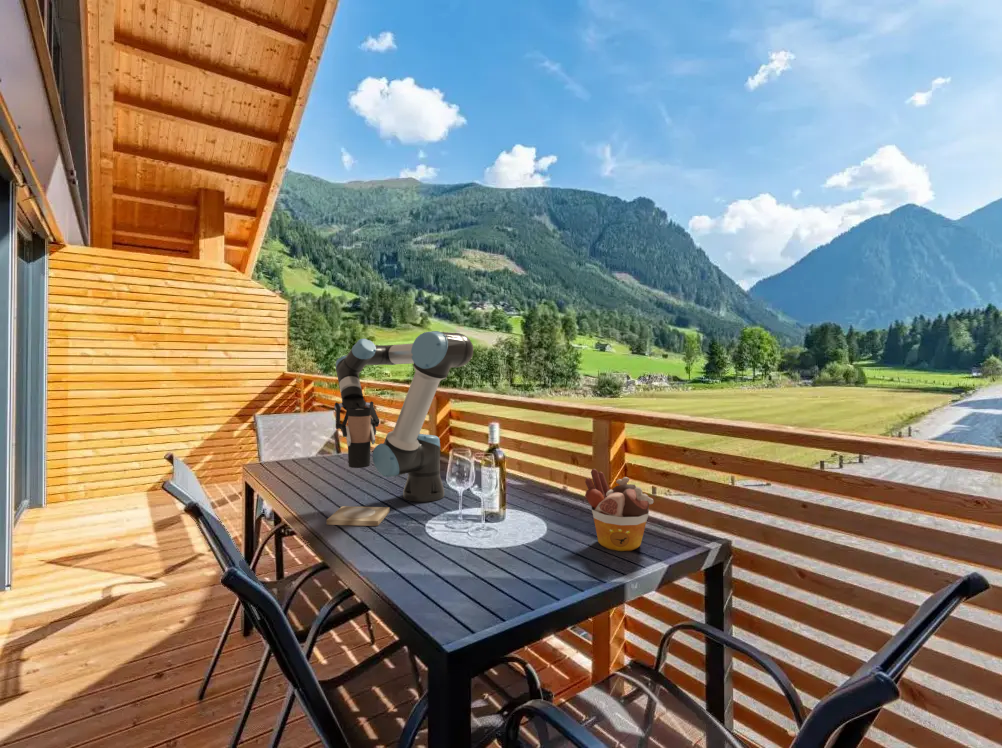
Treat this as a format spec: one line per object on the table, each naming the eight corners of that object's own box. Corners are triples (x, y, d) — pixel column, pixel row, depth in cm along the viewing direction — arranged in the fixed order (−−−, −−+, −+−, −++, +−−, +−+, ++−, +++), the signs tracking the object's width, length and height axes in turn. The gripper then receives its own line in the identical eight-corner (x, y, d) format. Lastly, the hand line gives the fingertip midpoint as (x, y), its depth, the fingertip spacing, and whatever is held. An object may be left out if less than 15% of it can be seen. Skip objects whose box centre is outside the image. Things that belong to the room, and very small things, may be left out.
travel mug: (342, 466, 175) (342, 408, 174) (359, 462, 181) (359, 406, 180) (359, 469, 171) (359, 410, 170) (375, 464, 178) (375, 407, 177)
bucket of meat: (664, 547, 141) (666, 476, 141) (629, 562, 131) (631, 485, 130) (606, 528, 157) (608, 464, 156) (571, 540, 146) (572, 471, 145)
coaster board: (389, 511, 170) (389, 506, 170) (378, 525, 156) (378, 520, 156) (342, 510, 170) (342, 505, 170) (326, 524, 156) (326, 519, 156)
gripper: (377, 397, 193) (388, 446, 180) (321, 399, 184) (329, 451, 170) (380, 384, 189) (393, 434, 175) (323, 385, 179) (332, 438, 165)
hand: (361, 442), depth 173 cm, fingers closed on travel mug, 7 cm apart
